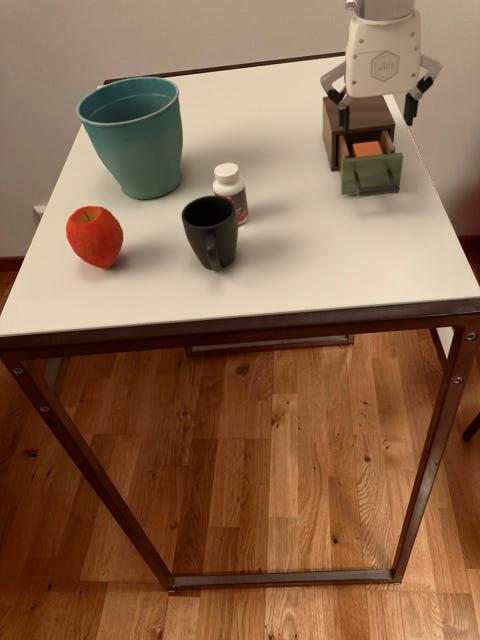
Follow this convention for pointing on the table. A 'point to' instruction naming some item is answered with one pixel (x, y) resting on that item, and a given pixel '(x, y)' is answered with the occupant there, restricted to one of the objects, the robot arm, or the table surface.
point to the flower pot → (137, 133)
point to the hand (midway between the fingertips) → (376, 125)
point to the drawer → (368, 165)
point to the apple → (95, 235)
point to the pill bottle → (232, 188)
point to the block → (366, 149)
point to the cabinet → (355, 121)
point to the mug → (212, 230)
